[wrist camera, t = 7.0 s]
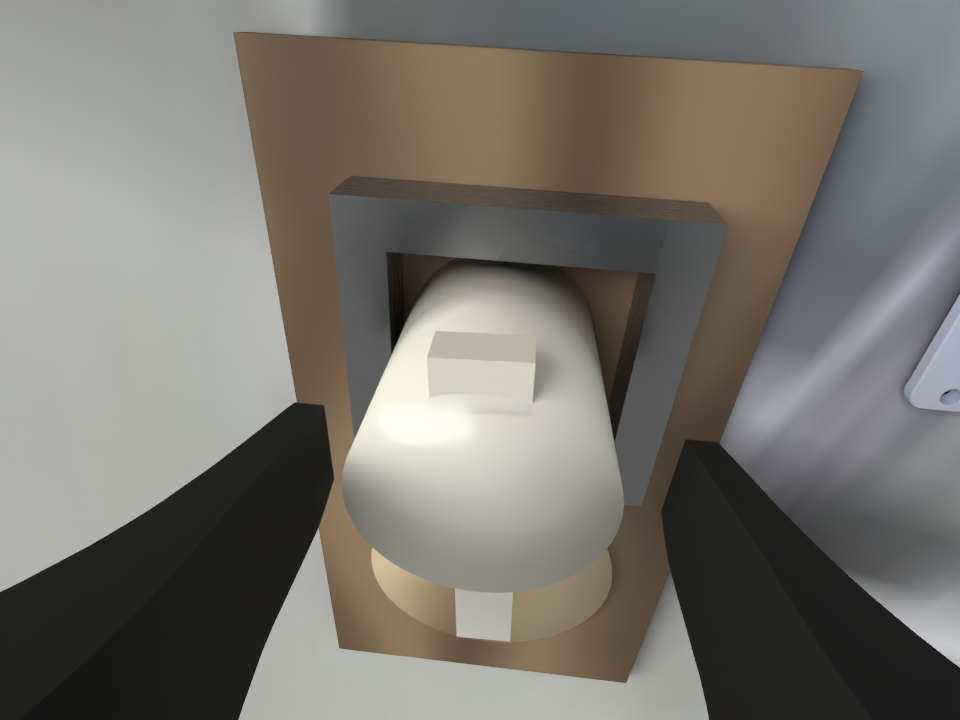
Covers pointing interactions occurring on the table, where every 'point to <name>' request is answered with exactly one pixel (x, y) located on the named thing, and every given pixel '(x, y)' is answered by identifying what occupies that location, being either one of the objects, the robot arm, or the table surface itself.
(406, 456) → the cream tapered cylinder
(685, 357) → the socket
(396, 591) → the coaster
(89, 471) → the table surface
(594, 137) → the board
